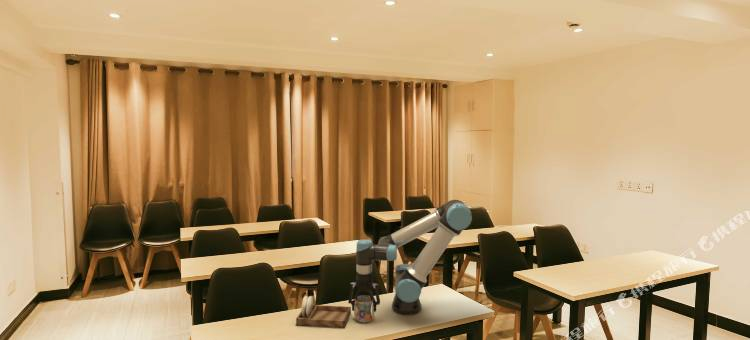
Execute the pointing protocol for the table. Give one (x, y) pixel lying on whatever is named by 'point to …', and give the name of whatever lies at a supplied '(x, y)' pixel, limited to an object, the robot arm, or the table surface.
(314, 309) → the rack
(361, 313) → the mug
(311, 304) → the plates
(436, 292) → the table surface
